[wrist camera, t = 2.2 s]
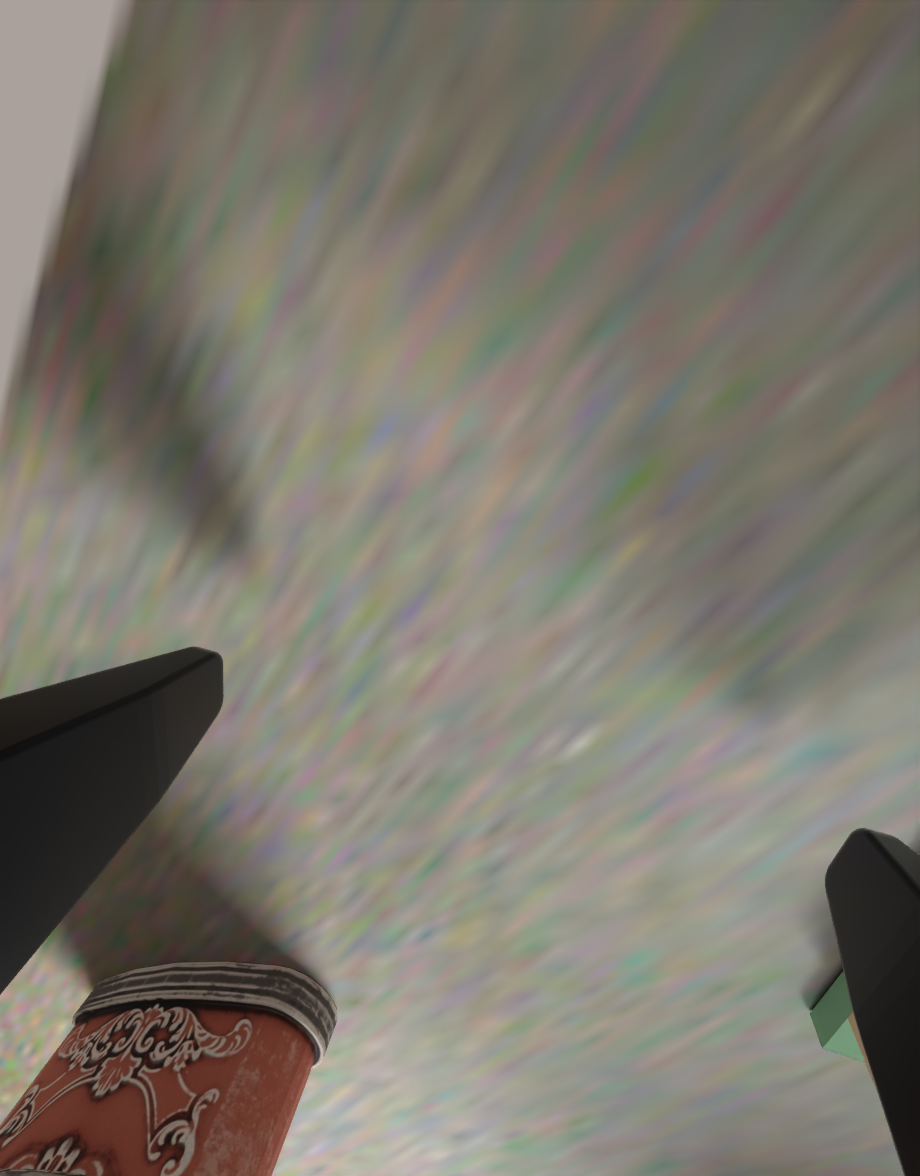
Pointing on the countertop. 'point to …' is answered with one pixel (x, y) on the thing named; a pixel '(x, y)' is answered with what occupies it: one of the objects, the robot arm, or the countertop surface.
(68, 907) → the robot arm
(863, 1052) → the track
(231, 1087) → the lighter
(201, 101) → the countertop surface
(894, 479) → the countertop surface
